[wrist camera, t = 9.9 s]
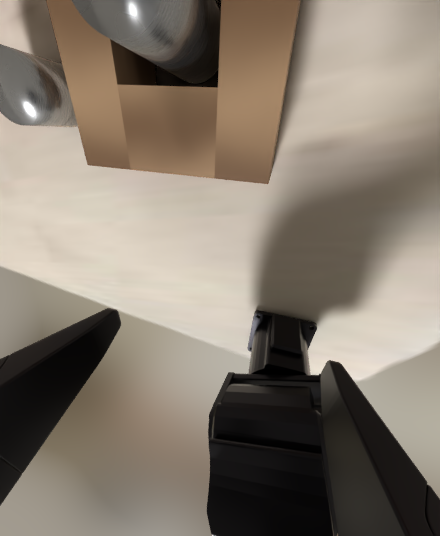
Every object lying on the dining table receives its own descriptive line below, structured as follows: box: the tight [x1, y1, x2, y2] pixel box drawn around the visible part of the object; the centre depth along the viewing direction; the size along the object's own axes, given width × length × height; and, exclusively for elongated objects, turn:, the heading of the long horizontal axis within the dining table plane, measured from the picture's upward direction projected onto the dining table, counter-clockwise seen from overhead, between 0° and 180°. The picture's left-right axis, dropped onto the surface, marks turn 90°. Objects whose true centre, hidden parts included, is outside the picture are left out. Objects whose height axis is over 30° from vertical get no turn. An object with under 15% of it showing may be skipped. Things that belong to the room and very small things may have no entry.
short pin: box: [0, 44, 78, 127], centre depth 15 cm, size 4×4×4 cm
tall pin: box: [72, 0, 221, 84], centre depth 10 cm, size 4×4×8 cm
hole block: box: [46, 0, 301, 184], centre depth 11 cm, size 14×12×4 cm
